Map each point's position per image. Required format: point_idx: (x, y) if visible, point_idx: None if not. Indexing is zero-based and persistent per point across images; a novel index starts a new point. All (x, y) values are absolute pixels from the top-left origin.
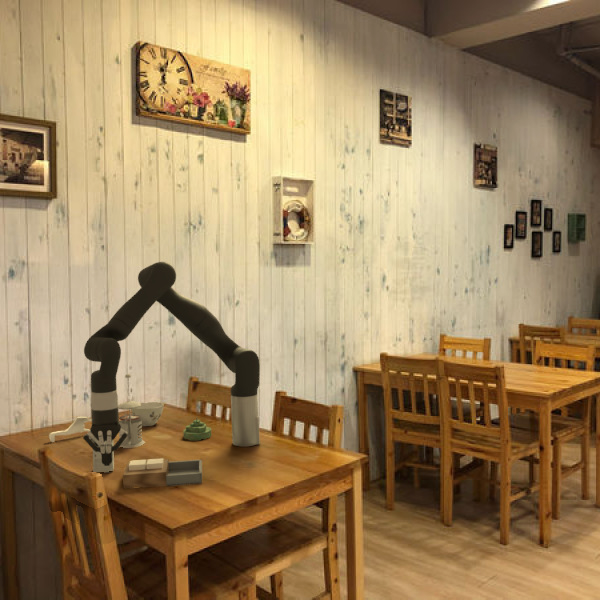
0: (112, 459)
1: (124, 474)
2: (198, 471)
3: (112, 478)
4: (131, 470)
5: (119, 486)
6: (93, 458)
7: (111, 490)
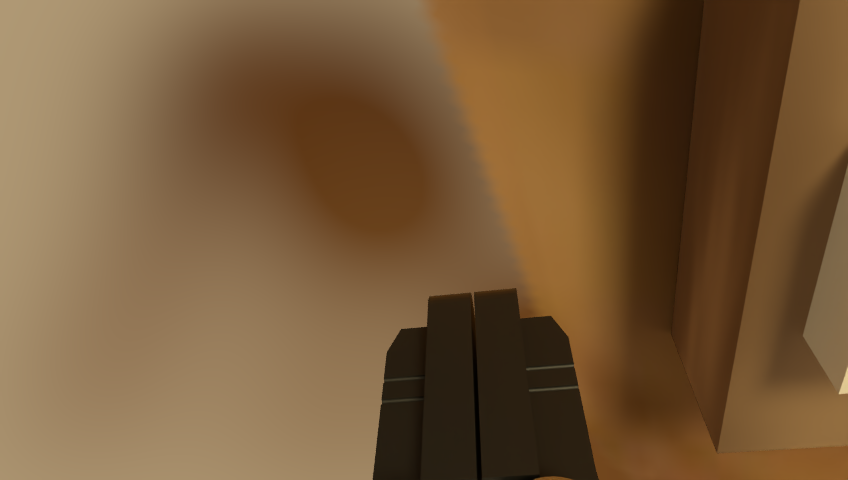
0: (570, 349)
1: (735, 437)
2: None
3: (482, 2)
4: None
5: (621, 270)
6: None
7: None
